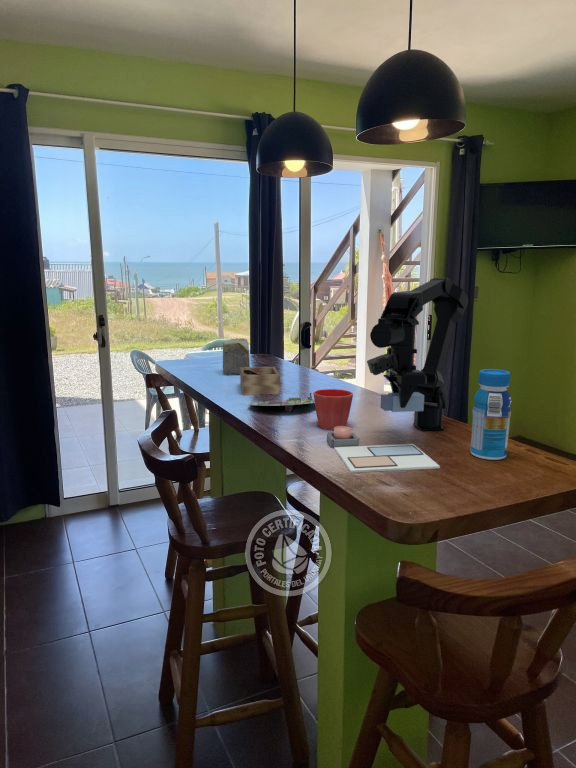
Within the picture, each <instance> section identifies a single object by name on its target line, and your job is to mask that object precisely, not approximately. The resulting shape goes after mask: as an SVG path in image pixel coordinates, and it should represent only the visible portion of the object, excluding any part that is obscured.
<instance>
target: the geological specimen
mask: <svg viewBox="0 0 576 768" xmlns="http://www.w3.org/2000/svg"><path fill="white" fill-rule="evenodd" d="M240 367H251V365H250V347H249V342H248V339H247V338H238V337H236V338H231V339H228V340H226V341H224V342H222V372H223V374H227V375H230V374H231V375H237V376H238V375H240Z"/></svg>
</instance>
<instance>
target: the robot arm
mask: <svg viewBox="0 0 576 768" xmlns="http://www.w3.org/2000/svg"><path fill="white" fill-rule="evenodd" d="M430 302H432V304H433V310H434V314H435V316H436V321H435V324H434V325H435V326H434V329H433V332H432V336H431V340H430V343H429V346H428V350H427V355H426V358H425V360H424V365H423V367H422V369H420V370H419V369H417V365H415V364H414V362H415V360H414V359H415V358H414V357H415V354H418V349H417V348H415V341H416V340H415V338H416V326H418V325H420V322H419V320H418V319H417V318H416V317H417V316H418V315H420V314H421V312H423V310H424V306H425V305H426V304H428V303H430ZM468 305H469V296H468V295H467V294H466V292H465V291H464V289H463V288H462V287H460V286H459V285H457V284H455V283H454V282H453V281H452V280H451V279H450V278H448V277H432V278H430V279H429V281H427V282H425V283H422V284H420V285H419V286H417V287H415V288H413V289H411V290H403V291H397V292H392V293H391V294H390V295H389V298H388V299H387V302H386V303H385V306H384V308H383V311H382V314H381V315H380V318H378V319H377V324H375V325H374V326H373V327H372V329H371V331H370V335H369V337H370V341H371V342H372V344H373V345H374V346H375V347H376V348H378V349H383V348H386V353H384V354H380V355H379V356H375V357H373V358H370V359H367V361H366V363H367V367H368V369H369V372H370V374H372V375H373V376H377V375H380V374H381V373H382V374H383V377H384V378H385V379H386V380H387V381H388V382H389V384H390V388H391V393H399V399H400V407H401V408H405V407H406V405H407V403H408V401H409V399H410V398H411V396H412V394H413V392H419V393H421V394H423V395H424V410H423V411H413V412H414V414H413V426H414V427H416V428H417V429H419V430H420V431H443V430H445V429H444V427H443V426H442V421H443V420H442V418H443V410H445V409H447V407H448V405H449V400H450V399H449V397H448V395H447V393H446V391H445V381H444V378H443V375H442V373H443V368H444V364H445V361H446V357H447V353H448V350H449V345H450V342H451V338H452V335H453V331H454V328H455V325H456V323H458V321H460V320H461V319H462V318H463V316H464V315H465V312H466V309H467V307H468ZM384 373H386V374H384Z"/></svg>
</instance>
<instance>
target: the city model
mask: <svg viewBox="0 0 576 768" xmlns="http://www.w3.org/2000/svg"><path fill="white" fill-rule="evenodd" d="M257 399H258V401H254V402H251V403H248V405H249V406H262V407H263V406H266V407H267V406H270V407H271V406H284V407H285V408H284V411H285V412H291V413H292V412H293V409H294V407H293V406H295V405H296V406H297V405H306V404H313V403H314V404H315V401H314V398H313V396H312V392H310V393H309V396H307V398H304V399H302V396H301V395H300V396H299V397H296V396H295V397H288V399H283V400H275V399H274V400H272V399H271V396H269V397H268V401H267V400H266V401H265V400H264V401H265V402H263V401H261V398H260V397H258V398H257ZM270 399H271V400H270Z"/></svg>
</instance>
